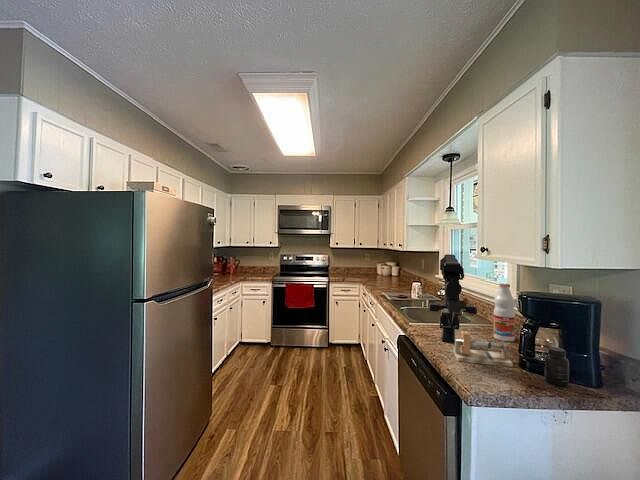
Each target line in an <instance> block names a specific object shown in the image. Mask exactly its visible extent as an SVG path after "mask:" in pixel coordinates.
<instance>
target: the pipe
mask: <svg viewBox="0 0 640 480" xmlns="http://www.w3.org/2000/svg"><path fill="white" fill-rule="evenodd" d="M456 340H460V346H461V345H462V346H463V340H461V338H457V339H455V343H454V346H455V345H456ZM506 343H507V342H503V343H502V342H492V341H482V340H472V339H470V347H474V348H484V349H485V348H486V349H494V350H502V349H504V344H505V345H509V343H507V344H506Z"/></svg>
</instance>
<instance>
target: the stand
mask: <svg viewBox="0 0 640 480" xmlns="http://www.w3.org/2000/svg"><path fill="white" fill-rule="evenodd" d="M455 339H458V338H456V337H455ZM460 340H461V339H460ZM460 340H456V345H455V344H454V347H453V349H452V350H453V353H454V356H455V359H456V360H457V361H458V362H461V363H462V362H463V363H473V364H483V365H490V366H502V367H510V368H511V367H512V368H513V362H512V360H510V345H509V344H508V343H507V342H505V343H506V344H508V345H505V344H504V349H501V352H500V351H499V352H497V351H491V350H490V351H489V350H487V351H486V350H479V349H478V350H477V349H470V354H464V353H463V351H462V349H461V345H460ZM501 343H504V341H503V342H501Z"/></svg>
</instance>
